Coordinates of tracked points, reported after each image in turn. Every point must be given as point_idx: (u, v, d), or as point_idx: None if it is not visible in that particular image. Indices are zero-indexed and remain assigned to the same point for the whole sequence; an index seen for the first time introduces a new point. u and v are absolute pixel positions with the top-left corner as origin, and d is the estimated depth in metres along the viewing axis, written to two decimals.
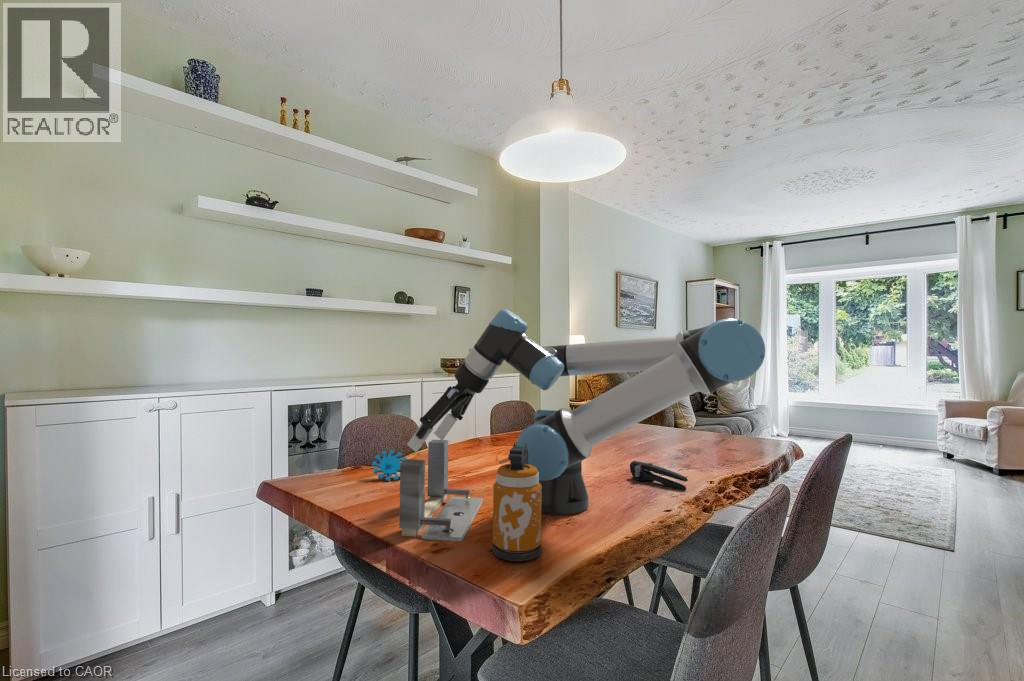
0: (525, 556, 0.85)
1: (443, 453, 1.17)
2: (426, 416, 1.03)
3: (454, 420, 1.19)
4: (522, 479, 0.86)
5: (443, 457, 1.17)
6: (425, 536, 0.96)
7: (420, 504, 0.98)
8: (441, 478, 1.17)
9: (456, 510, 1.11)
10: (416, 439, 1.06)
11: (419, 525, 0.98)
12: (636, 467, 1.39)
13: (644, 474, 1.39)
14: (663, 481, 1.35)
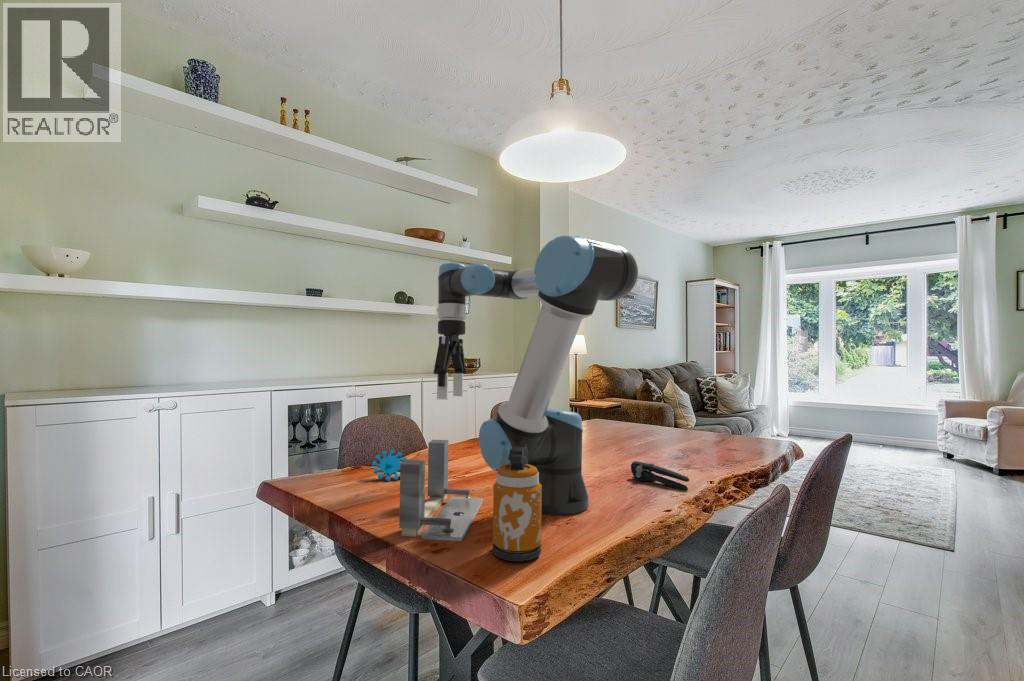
0: (525, 556, 0.85)
1: (443, 453, 1.17)
2: (436, 364, 1.23)
3: (461, 374, 1.38)
4: (522, 479, 0.86)
5: (443, 457, 1.17)
6: (425, 536, 0.96)
7: (420, 504, 0.98)
8: (441, 478, 1.17)
9: (456, 510, 1.11)
10: (441, 390, 1.25)
11: (419, 525, 0.98)
12: (637, 467, 1.39)
13: (646, 475, 1.39)
14: (665, 481, 1.35)
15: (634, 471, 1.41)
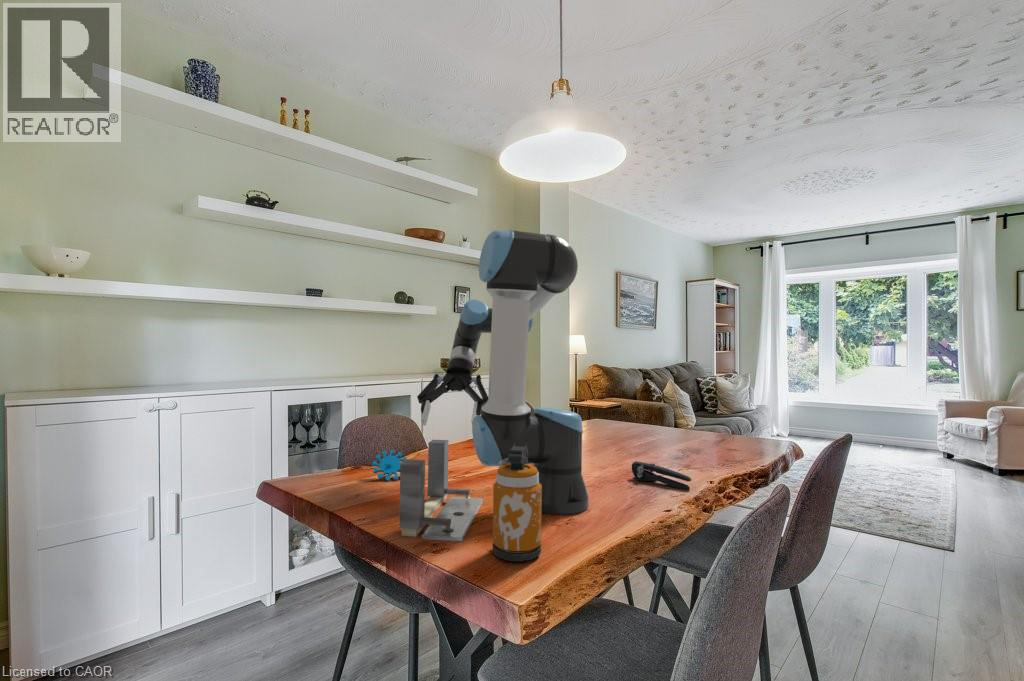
0: (525, 556, 0.85)
1: (443, 453, 1.17)
2: None
3: (474, 403, 1.33)
4: (522, 479, 0.86)
5: (443, 457, 1.17)
6: (425, 536, 0.96)
7: (420, 504, 0.98)
8: (441, 478, 1.17)
9: (456, 510, 1.11)
10: None
11: (419, 525, 0.98)
12: (639, 468, 1.39)
13: (647, 475, 1.39)
14: (667, 481, 1.35)
15: (635, 471, 1.41)
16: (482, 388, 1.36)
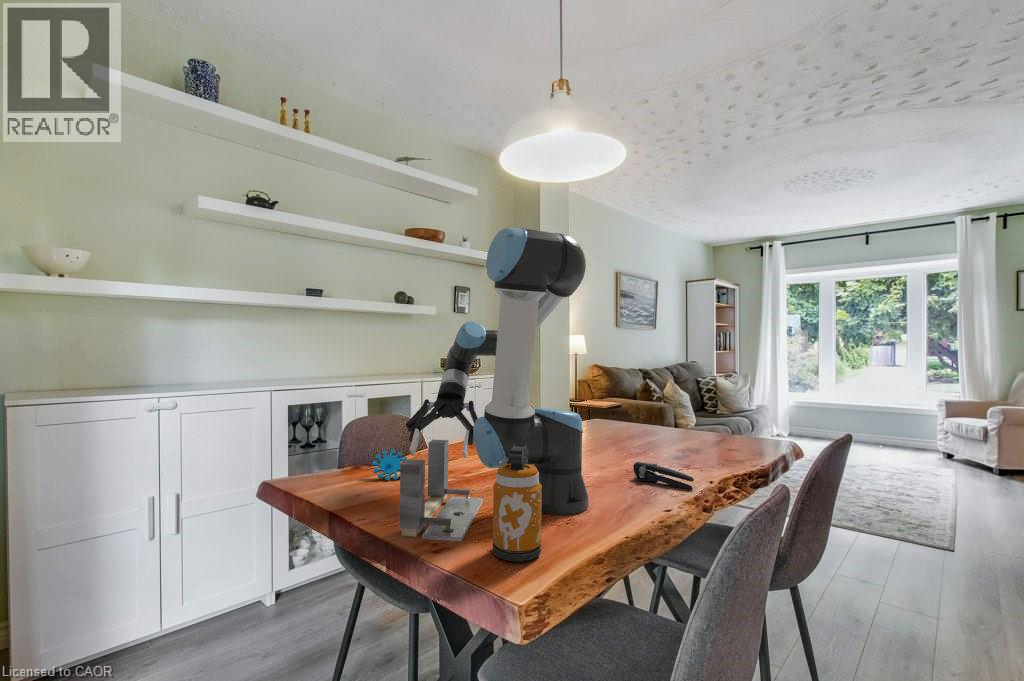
0: (525, 556, 0.85)
1: (443, 453, 1.17)
2: None
3: (466, 432, 1.25)
4: (522, 479, 0.86)
5: (443, 457, 1.17)
6: (425, 536, 0.96)
7: (420, 504, 0.98)
8: (441, 478, 1.17)
9: (456, 510, 1.11)
10: None
11: (419, 525, 0.98)
12: (641, 468, 1.38)
13: (649, 475, 1.38)
14: (669, 481, 1.35)
15: (637, 472, 1.41)
16: (474, 415, 1.28)
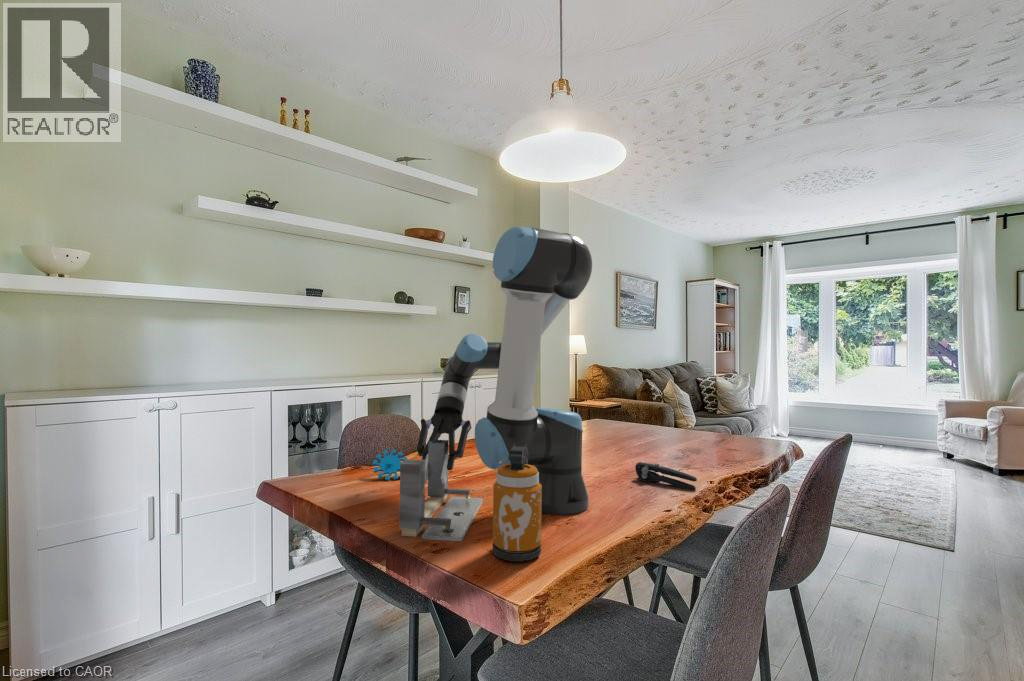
0: (525, 556, 0.85)
1: (443, 453, 1.17)
2: None
3: (445, 456, 1.19)
4: (522, 479, 0.86)
5: (443, 457, 1.17)
6: (425, 536, 0.96)
7: (420, 504, 0.98)
8: None
9: (456, 510, 1.11)
10: None
11: (419, 525, 0.98)
12: (643, 469, 1.38)
13: (652, 476, 1.38)
14: (672, 482, 1.34)
15: (639, 472, 1.40)
16: (462, 437, 1.22)
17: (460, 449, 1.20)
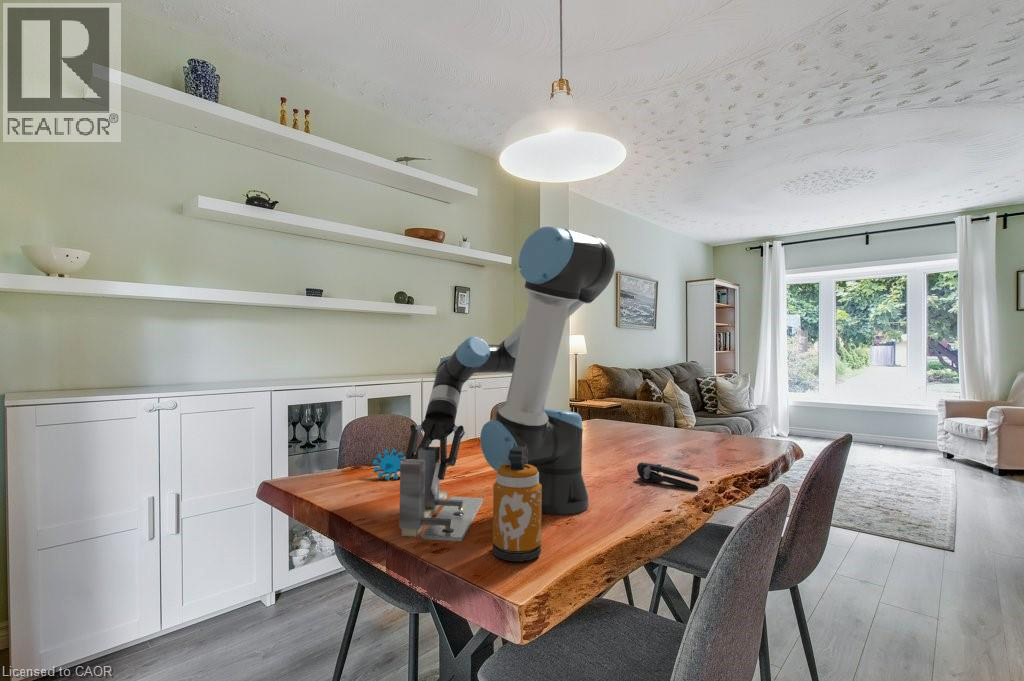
0: (525, 556, 0.85)
1: (434, 461, 1.09)
2: None
3: None
4: (522, 479, 0.86)
5: (434, 465, 1.09)
6: (425, 536, 0.96)
7: (420, 504, 0.98)
8: None
9: (456, 510, 1.11)
10: None
11: (419, 525, 0.98)
12: (646, 469, 1.38)
13: (654, 476, 1.38)
14: (675, 482, 1.34)
15: (641, 472, 1.40)
16: (455, 444, 1.14)
17: (452, 457, 1.11)
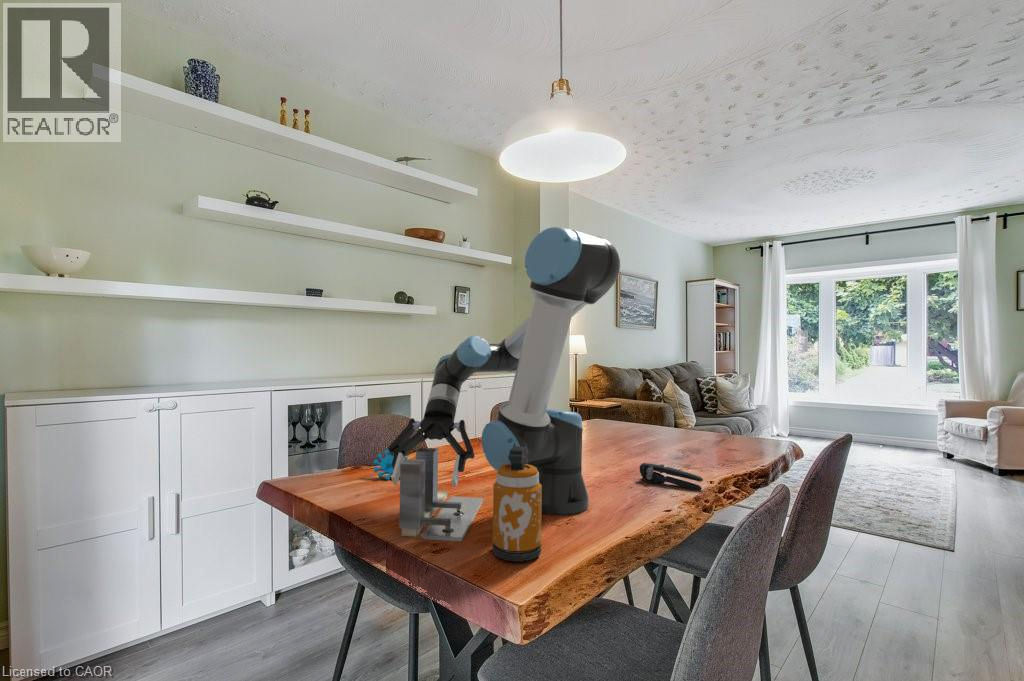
0: (525, 556, 0.85)
1: (432, 463, 1.08)
2: None
3: None
4: (522, 479, 0.86)
5: (432, 467, 1.08)
6: (425, 536, 0.96)
7: (420, 504, 0.98)
8: (429, 490, 1.07)
9: (456, 510, 1.11)
10: None
11: (419, 525, 0.98)
12: (649, 469, 1.37)
13: (657, 476, 1.37)
14: (678, 482, 1.34)
15: (644, 473, 1.39)
16: (466, 437, 1.14)
17: (471, 449, 1.11)
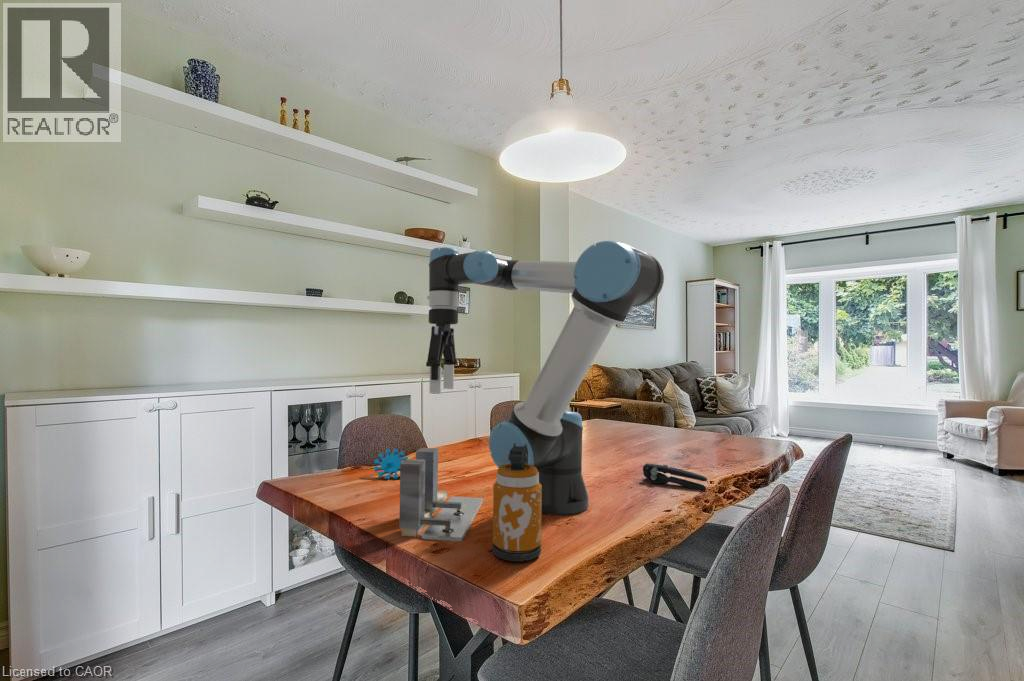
0: (525, 556, 0.85)
1: (432, 463, 1.08)
2: (430, 356, 1.15)
3: (452, 366, 1.31)
4: (522, 479, 0.86)
5: (432, 467, 1.08)
6: (425, 536, 0.96)
7: (420, 504, 0.98)
8: (429, 490, 1.07)
9: (456, 510, 1.11)
10: (434, 384, 1.18)
11: (419, 525, 0.98)
12: (653, 470, 1.36)
13: (661, 477, 1.37)
14: (683, 482, 1.34)
15: (647, 474, 1.38)
16: (454, 347, 1.33)
17: (455, 358, 1.34)
